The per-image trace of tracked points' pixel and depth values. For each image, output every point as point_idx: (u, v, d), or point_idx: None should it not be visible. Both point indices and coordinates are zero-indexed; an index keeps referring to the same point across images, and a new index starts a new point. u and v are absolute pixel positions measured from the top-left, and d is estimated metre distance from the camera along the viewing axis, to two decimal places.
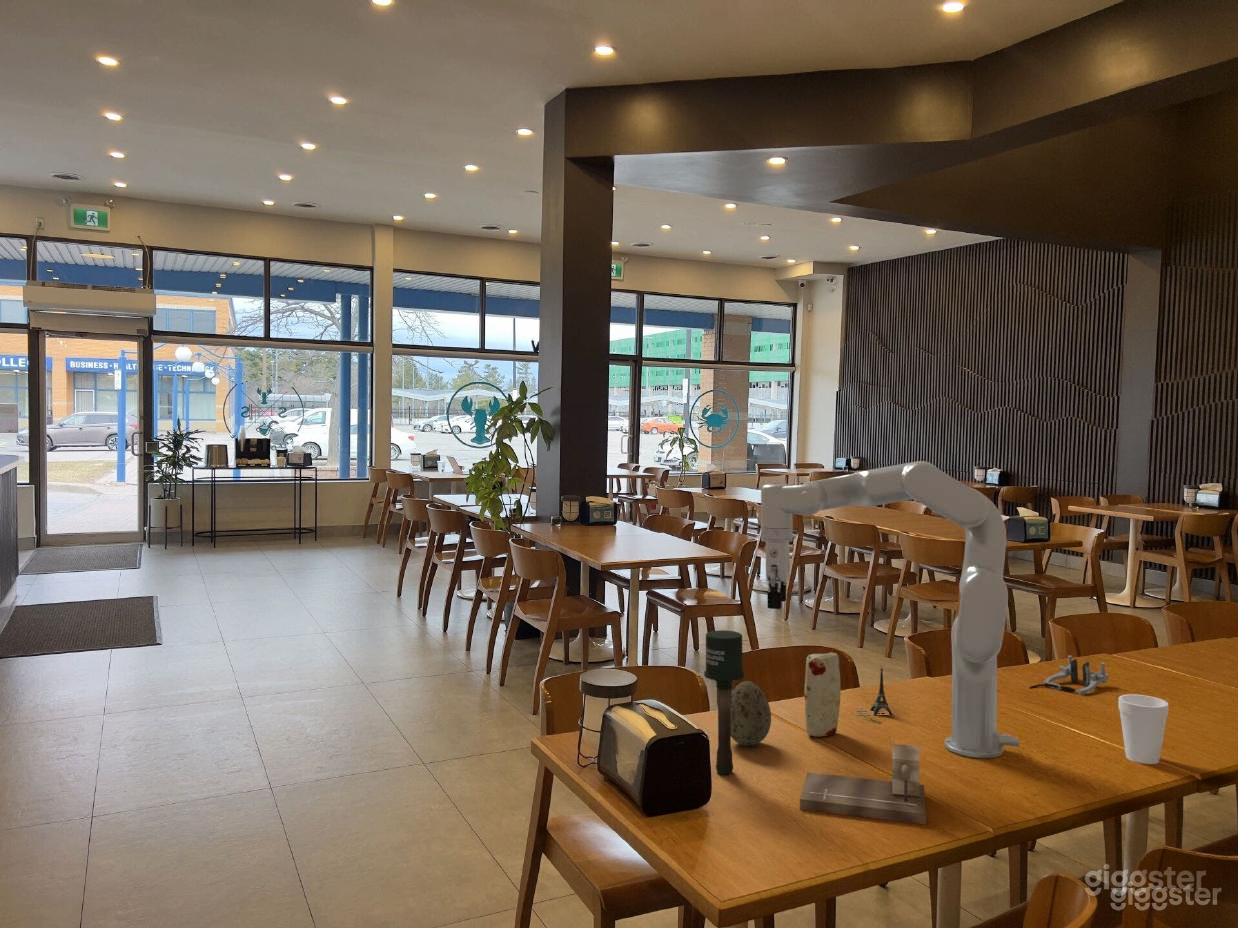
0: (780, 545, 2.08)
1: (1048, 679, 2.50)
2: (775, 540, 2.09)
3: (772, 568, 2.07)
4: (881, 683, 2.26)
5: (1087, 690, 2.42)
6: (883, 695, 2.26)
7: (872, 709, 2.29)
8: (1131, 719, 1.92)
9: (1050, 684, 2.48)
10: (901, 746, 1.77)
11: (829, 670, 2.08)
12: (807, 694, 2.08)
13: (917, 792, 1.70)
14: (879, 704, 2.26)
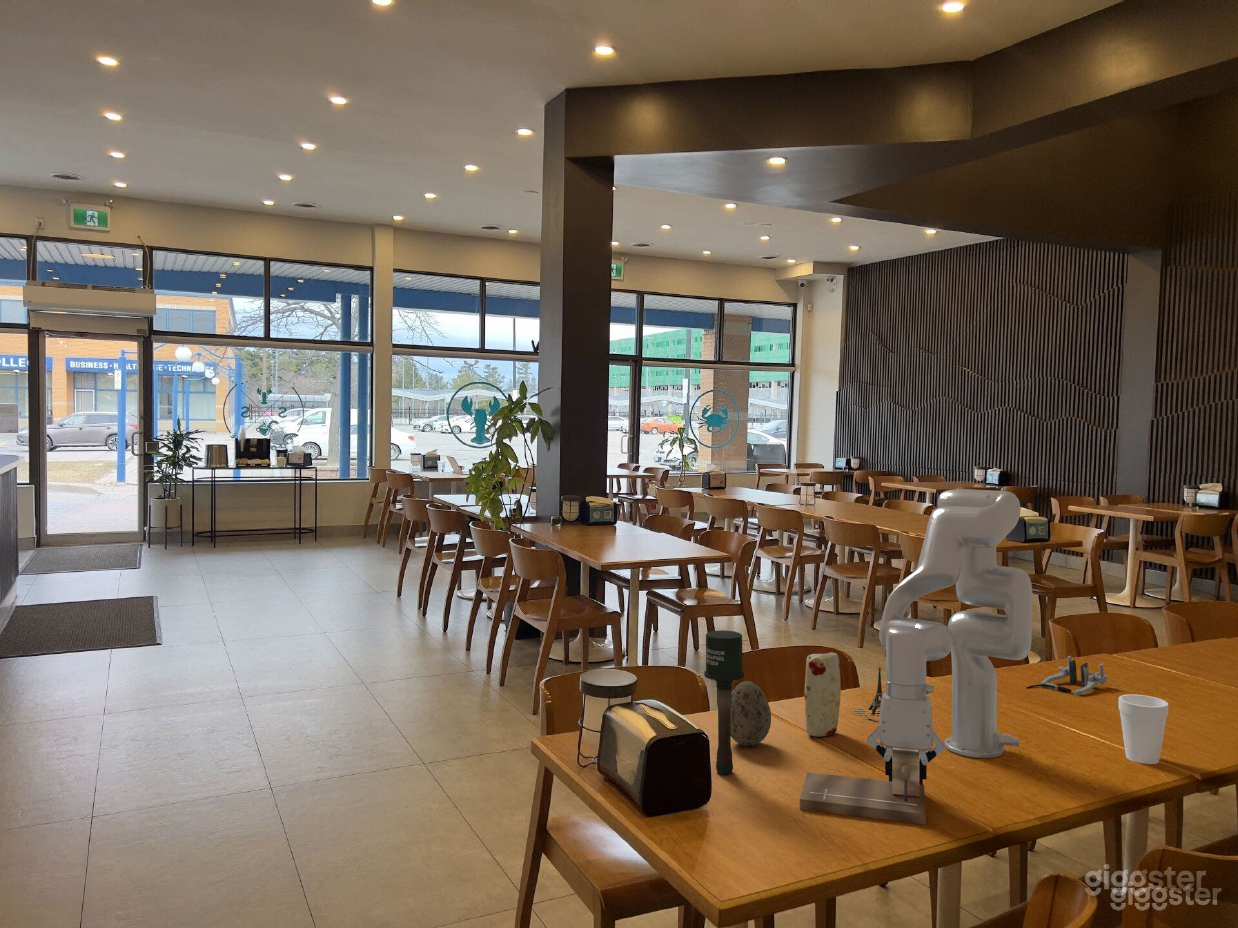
0: None
1: (1046, 679, 2.50)
2: None
3: (935, 734, 1.71)
4: (879, 682, 2.27)
5: (1083, 691, 2.41)
6: (881, 694, 2.27)
7: (870, 708, 2.29)
8: (1131, 719, 1.92)
9: None
10: None
11: (829, 670, 2.08)
12: (807, 694, 2.08)
13: (917, 792, 1.70)
14: (877, 703, 2.26)
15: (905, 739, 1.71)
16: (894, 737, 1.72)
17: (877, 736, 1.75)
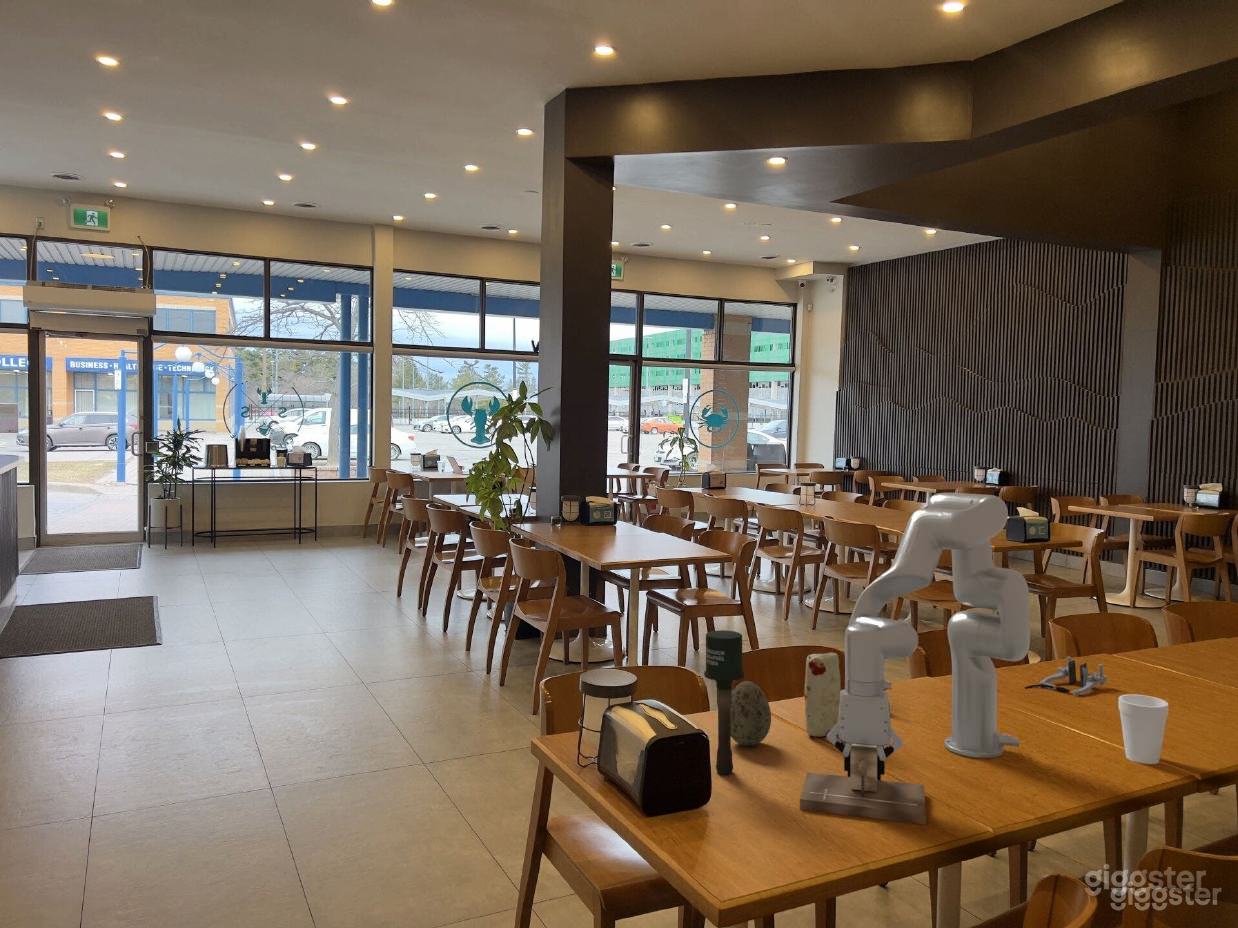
0: None
1: (1044, 680, 2.50)
2: None
3: (892, 730, 1.74)
4: None
5: (1082, 691, 2.41)
6: None
7: None
8: (1131, 719, 1.92)
9: (1046, 685, 2.47)
10: None
11: (829, 670, 2.08)
12: (807, 694, 2.08)
13: (875, 787, 1.72)
14: None
15: (863, 735, 1.74)
16: (852, 733, 1.74)
17: (836, 732, 1.77)
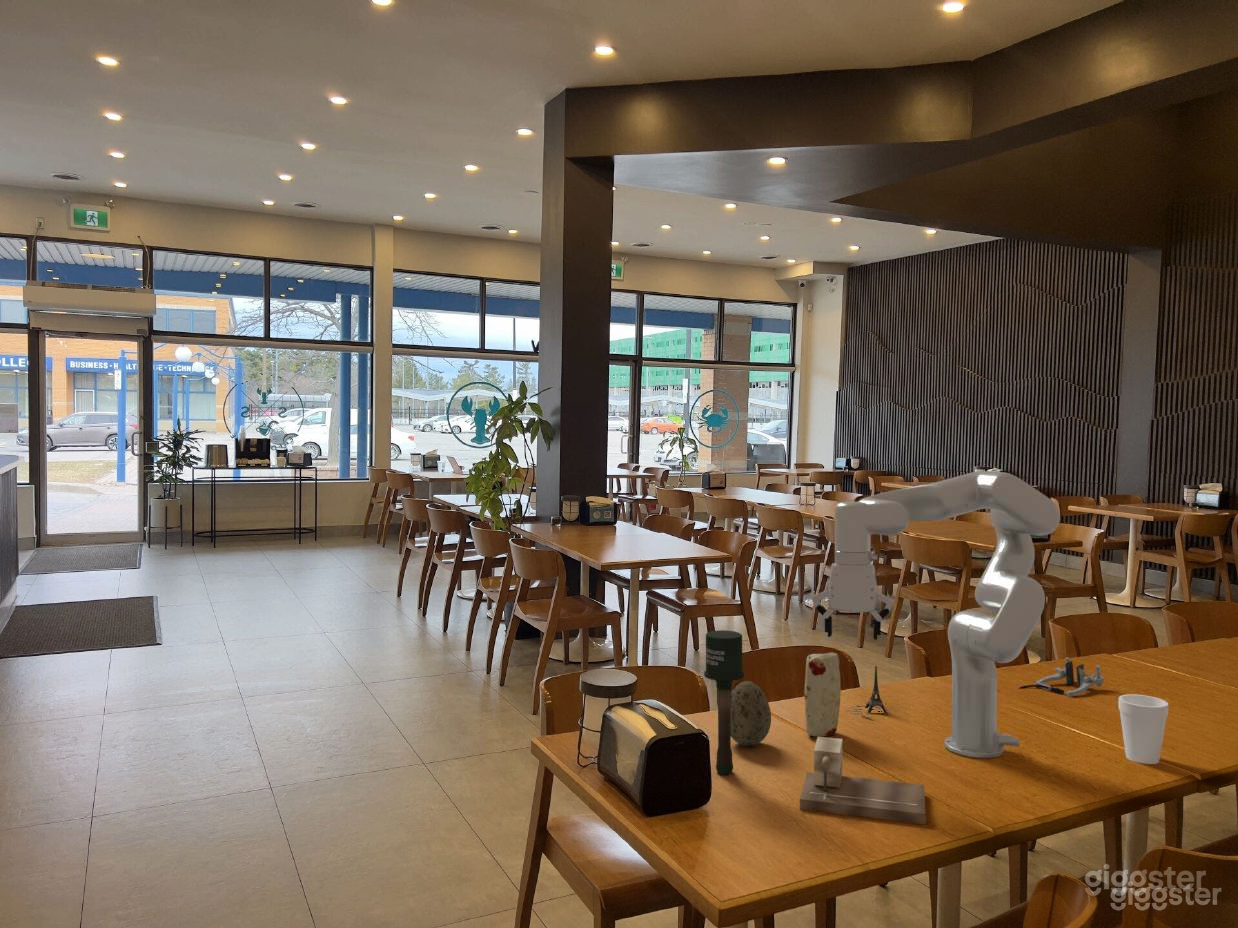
0: None
1: (1041, 680, 2.50)
2: (870, 563, 1.89)
3: (880, 594, 1.88)
4: (875, 681, 2.29)
5: (1076, 692, 2.40)
6: (877, 693, 2.28)
7: (867, 706, 2.31)
8: (1131, 719, 1.92)
9: (1041, 685, 2.47)
10: (825, 738, 1.82)
11: (829, 670, 2.08)
12: (807, 694, 2.08)
13: (837, 783, 1.74)
14: (873, 702, 2.28)
15: (851, 602, 1.88)
16: (841, 601, 1.89)
17: (822, 597, 1.92)
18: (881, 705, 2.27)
